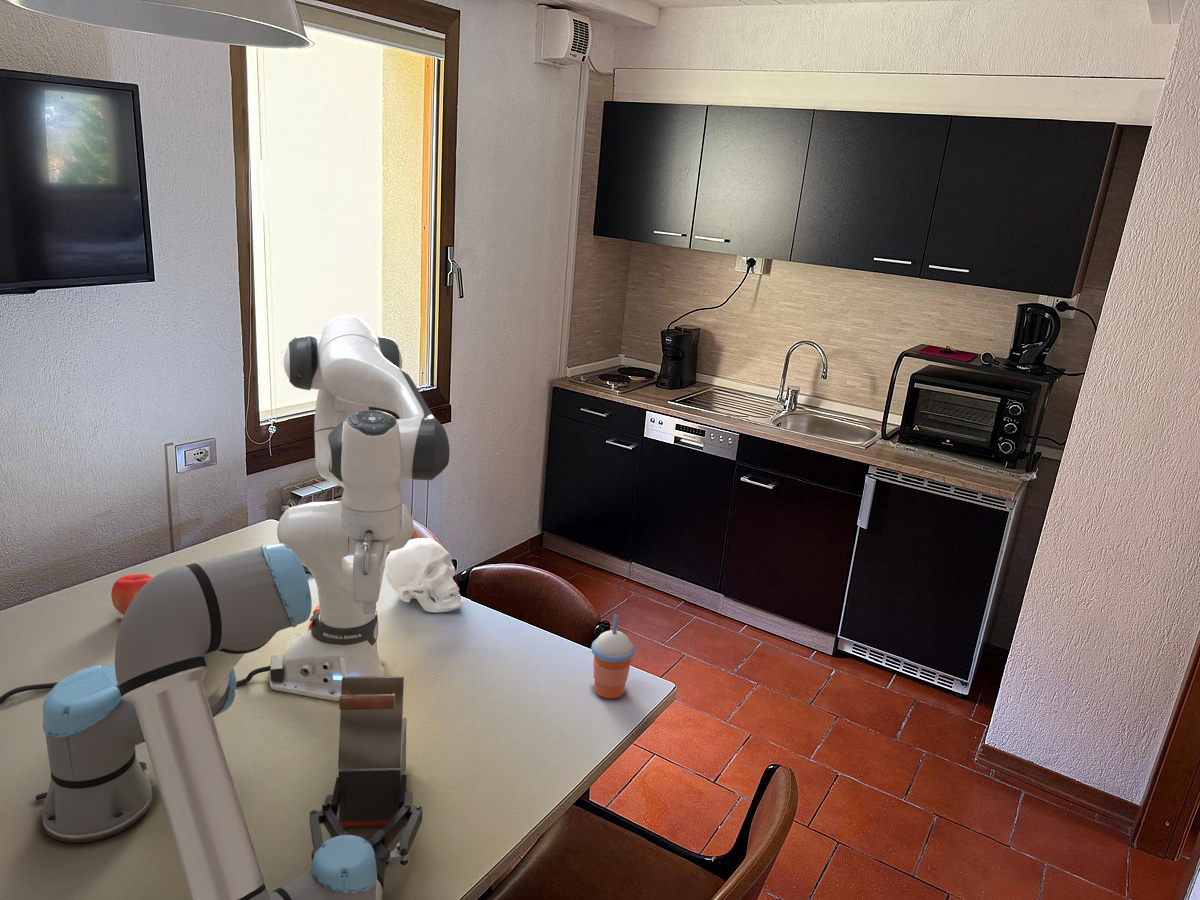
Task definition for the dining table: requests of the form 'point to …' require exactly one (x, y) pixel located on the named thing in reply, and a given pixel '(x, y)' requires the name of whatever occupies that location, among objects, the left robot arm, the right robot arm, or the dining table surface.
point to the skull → (424, 575)
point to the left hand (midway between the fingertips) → (371, 782)
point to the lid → (371, 722)
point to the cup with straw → (611, 661)
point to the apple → (127, 590)
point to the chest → (371, 792)
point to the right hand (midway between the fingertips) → (372, 601)
